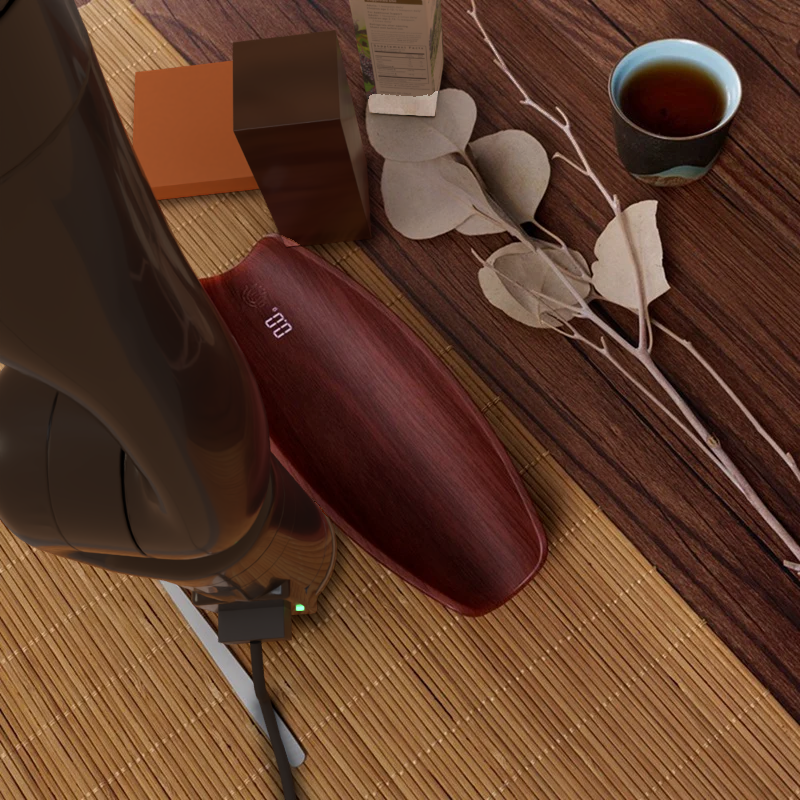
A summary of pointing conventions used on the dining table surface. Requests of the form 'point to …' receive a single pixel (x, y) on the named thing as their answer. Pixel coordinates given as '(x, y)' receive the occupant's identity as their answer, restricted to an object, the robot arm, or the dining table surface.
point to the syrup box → (399, 45)
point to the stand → (189, 131)
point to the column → (302, 136)
